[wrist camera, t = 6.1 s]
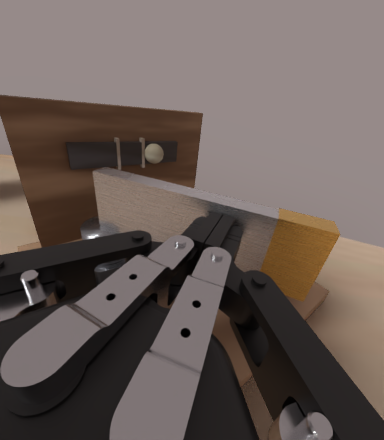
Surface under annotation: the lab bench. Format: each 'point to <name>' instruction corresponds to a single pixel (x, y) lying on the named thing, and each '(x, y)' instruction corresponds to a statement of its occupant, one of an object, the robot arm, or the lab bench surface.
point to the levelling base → (106, 157)
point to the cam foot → (202, 206)
